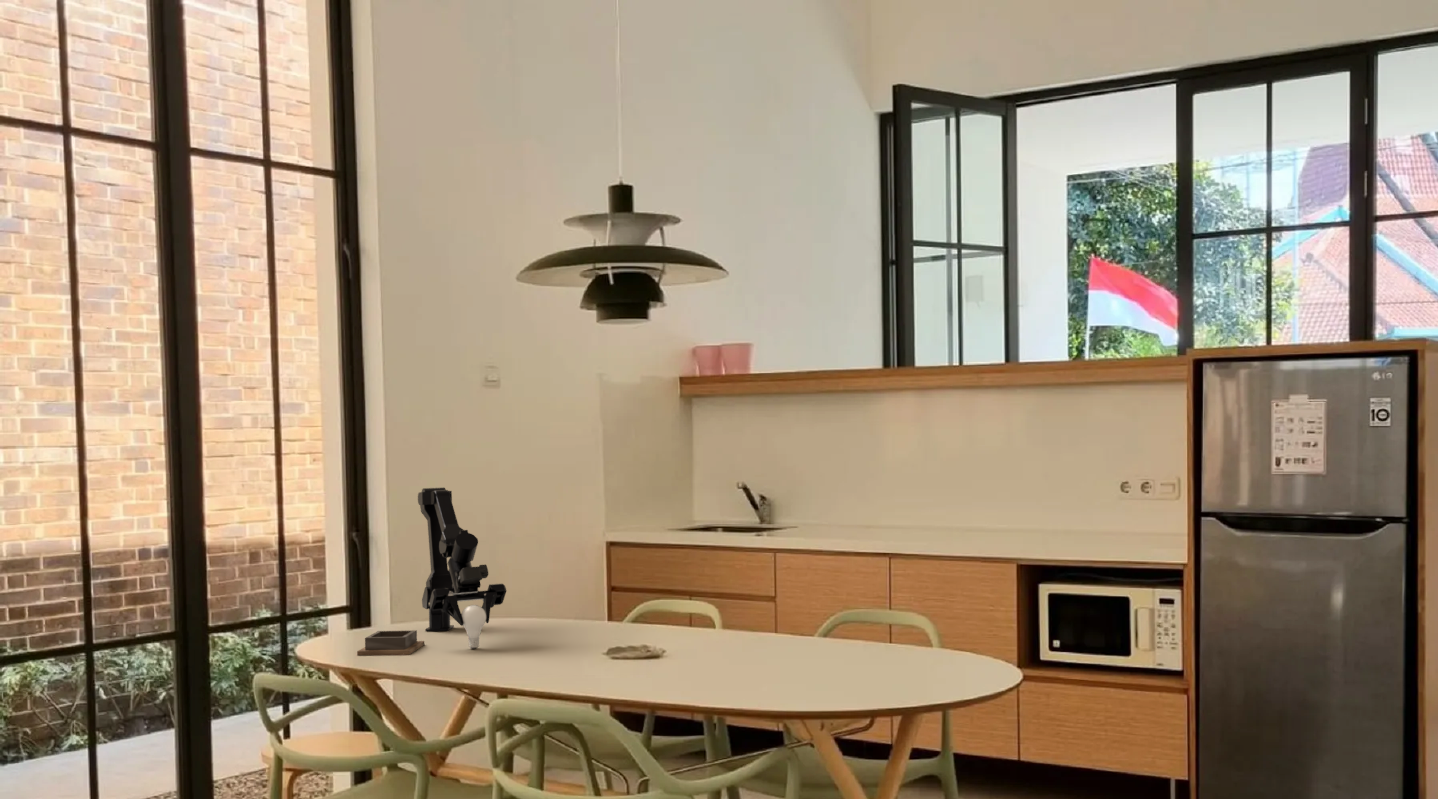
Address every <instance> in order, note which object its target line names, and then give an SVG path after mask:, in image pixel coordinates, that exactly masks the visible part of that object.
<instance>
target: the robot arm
mask: <svg viewBox="0 0 1438 799" xmlns="http://www.w3.org/2000/svg"><path fill="white" fill-rule="evenodd" d="M452 494H453V493H452V490H448V489H446V488H445V487H426V488H422V489H421V492H418V494H417V504H418V505H419V507H420V508H419V509H420V512H421V514H422V516H424V518H425V519H426V522H427V532H428V533H427V534H428V547H429V549H428V550H429V560H430V561H429V562H430V573H429V575H428V578H427V579H426V580H425V587H424V590H423V594H422V598H421V604H422V608H423V609H426V610H428V627H426V628H425V629H424V630H425V632H435V631H436V632H437V631H438V632H439V631H440V632H442V631H444V632H445V631H450V630H451V629H454V628H455V625H454V624H451V618H453V619H454V621H456V622H457V624H459V625H460V626H463V618H462V615H461V614H462V611H461V610H460V606H459V604H458V603H459V602H466V601H467V602H469V601H479V600H482V606H481V607H482V608H483V609H484V611H485V613H486V622H485V624H489V622H490V616H491V608H494V607H495V606H499V605H502V604H503V603H504V600H505V596H506V593H507V588H506V585H505V584H504V583H491V584H488V586H487V590H479V589H480V588H481V586H482V585H481V581H482V580H483V579H486V578H488V576H489V569H488V566H487V564H479V566H473V565H472V563H471V562H472V561H474V559H475V555H476V551H477V548H478V544H479V539H478V538H477V537H476V535H474V534H473V533H470V532H469V531H468V529H463V528H462V527H460V526H459V522H458V518H457V515H456V512H455V509H454V508H455V507H454V505H453V496H452ZM463 627H464V626H463Z"/></svg>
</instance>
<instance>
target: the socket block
mask: <svg viewBox="0 0 1438 799" xmlns="http://www.w3.org/2000/svg"><path fill="white" fill-rule="evenodd" d="M417 633H418V630H377V631H376V632H374V633H371V634H369V635H368V636H366V637H365V638H364V647H362V648H361V649H359V650H357V652H356V653H357V654H356V656H398V655H399V656H402V655H403V656H404V655H405V656H409V655H412V654H413V653H414V652H416V651H417V650H419V649H421V648H422V647H424V646H425V641H424V640H418V634H417Z"/></svg>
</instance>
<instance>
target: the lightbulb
mask: <svg viewBox="0 0 1438 799" xmlns="http://www.w3.org/2000/svg"><path fill="white" fill-rule="evenodd" d="M461 615H462V618H463V628H464V629H465V631H466V636H467V637H468V648H470V649H471V650H477V648H479V647H480V636H481V632H482V629H483V627H484V626H485V624H486V613H485V611H484V609H483V608H482V606H481V605H478V604H471V605H468V606H466V607H464V609H463V610H462V611H461Z"/></svg>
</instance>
